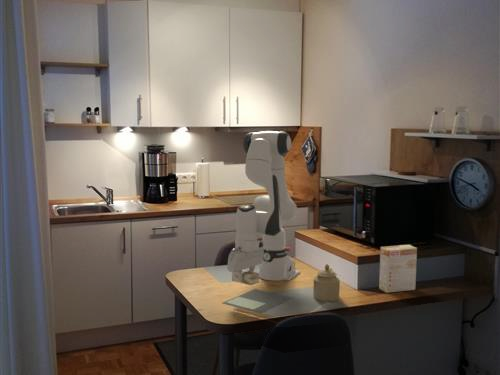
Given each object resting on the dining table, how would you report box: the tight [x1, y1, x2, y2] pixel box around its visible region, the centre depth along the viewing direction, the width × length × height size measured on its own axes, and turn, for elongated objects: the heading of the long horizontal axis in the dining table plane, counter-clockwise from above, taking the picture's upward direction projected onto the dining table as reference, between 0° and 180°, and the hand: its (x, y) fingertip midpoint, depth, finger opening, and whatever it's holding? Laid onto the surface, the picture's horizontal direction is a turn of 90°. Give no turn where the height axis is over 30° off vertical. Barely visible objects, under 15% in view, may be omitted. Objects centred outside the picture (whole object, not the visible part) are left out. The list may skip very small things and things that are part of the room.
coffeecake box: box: [378, 244, 418, 294], centre depth 257 cm, size 15×7×20 cm, turn 108°
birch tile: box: [231, 269, 260, 286], centre depth 234 cm, size 10×5×4 cm, turn 54°
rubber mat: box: [222, 288, 294, 314], centre depth 240 cm, size 24×20×1 cm
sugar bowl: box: [312, 264, 341, 303], centre depth 246 cm, size 15×11×15 cm
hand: (245, 278), depth 234 cm, fingers closed on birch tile, 5 cm apart
